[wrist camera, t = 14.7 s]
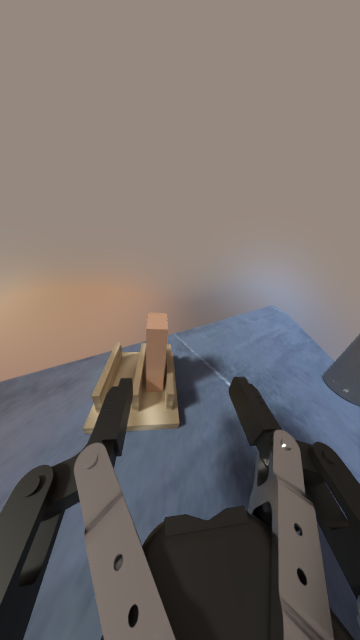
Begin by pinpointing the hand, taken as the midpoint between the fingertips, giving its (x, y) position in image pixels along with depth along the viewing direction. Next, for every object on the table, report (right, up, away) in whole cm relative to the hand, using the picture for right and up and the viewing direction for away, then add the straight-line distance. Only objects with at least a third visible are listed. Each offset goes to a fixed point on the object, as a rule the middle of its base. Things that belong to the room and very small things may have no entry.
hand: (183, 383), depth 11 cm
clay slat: (-5, -7, +17) cm, 20 cm away
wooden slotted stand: (-8, -8, +18) cm, 21 cm away
